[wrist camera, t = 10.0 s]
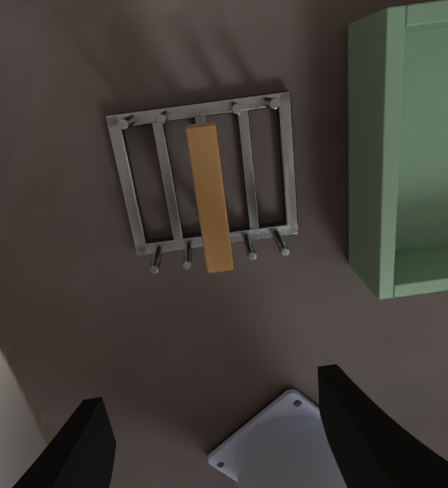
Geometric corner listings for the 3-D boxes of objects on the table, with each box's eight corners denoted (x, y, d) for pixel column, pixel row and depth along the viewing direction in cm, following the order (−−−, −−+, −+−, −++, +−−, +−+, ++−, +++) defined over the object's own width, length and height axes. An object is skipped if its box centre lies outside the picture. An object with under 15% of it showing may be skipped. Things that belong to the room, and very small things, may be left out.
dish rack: (288, 90, 18) (318, 92, 14) (296, 230, 21) (324, 271, 16) (107, 114, 18) (76, 124, 14) (138, 251, 21) (120, 299, 16)
